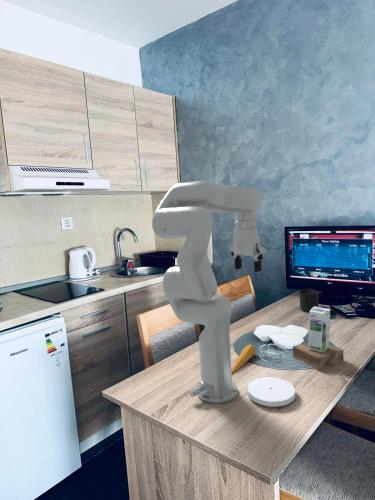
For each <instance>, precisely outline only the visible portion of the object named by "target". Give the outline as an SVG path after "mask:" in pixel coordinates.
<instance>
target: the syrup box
mask: <svg viewBox="0 0 375 500" xmlns="http://www.w3.org/2000/svg"><path fill="white" fill-rule="evenodd" d="M308 313H309V314H308V315H309V318H308V342H309V344H308V349H311V350H315V351H319V352H322V353H325V351H326V350H327V348H328V346H329V344H330V324H331V323H330V322H331V308H326V307H325V308H323V307H319V306H318V307H315V306H314V307H313V308H312V309H311V310H310V312H308Z"/></svg>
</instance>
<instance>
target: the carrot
mask: <svg viewBox="0 0 375 500" xmlns="http://www.w3.org/2000/svg"><path fill="white" fill-rule="evenodd" d="M255 354H256V347H254V345H252V344H248V345H245V347H244V348H243V349H242V351H241V353H240V354H239V356H238V357H237V359H236V362H235V363H234V365H233V367H231V371H232V374H234V373H235V372H236V371H238V370H239V369H240V368H241V367H242V366H243V365H245V363H247V362H248V361H249V360H250V359H251V358H252V357H254V356H255Z"/></svg>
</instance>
